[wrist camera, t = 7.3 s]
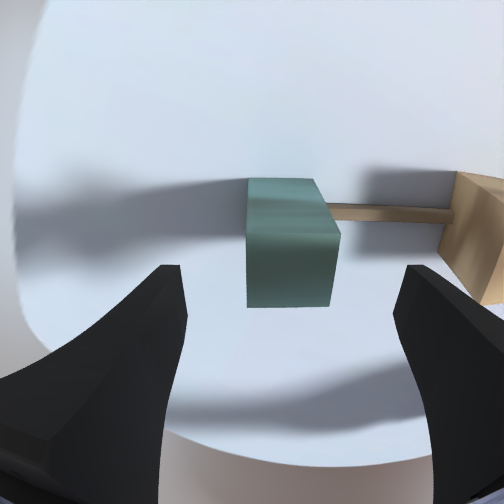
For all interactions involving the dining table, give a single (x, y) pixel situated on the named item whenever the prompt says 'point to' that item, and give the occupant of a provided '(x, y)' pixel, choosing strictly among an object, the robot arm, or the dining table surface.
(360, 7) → the dining table surface
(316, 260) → the wooden blocks on rod
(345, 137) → the dining table surface
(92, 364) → the robot arm
